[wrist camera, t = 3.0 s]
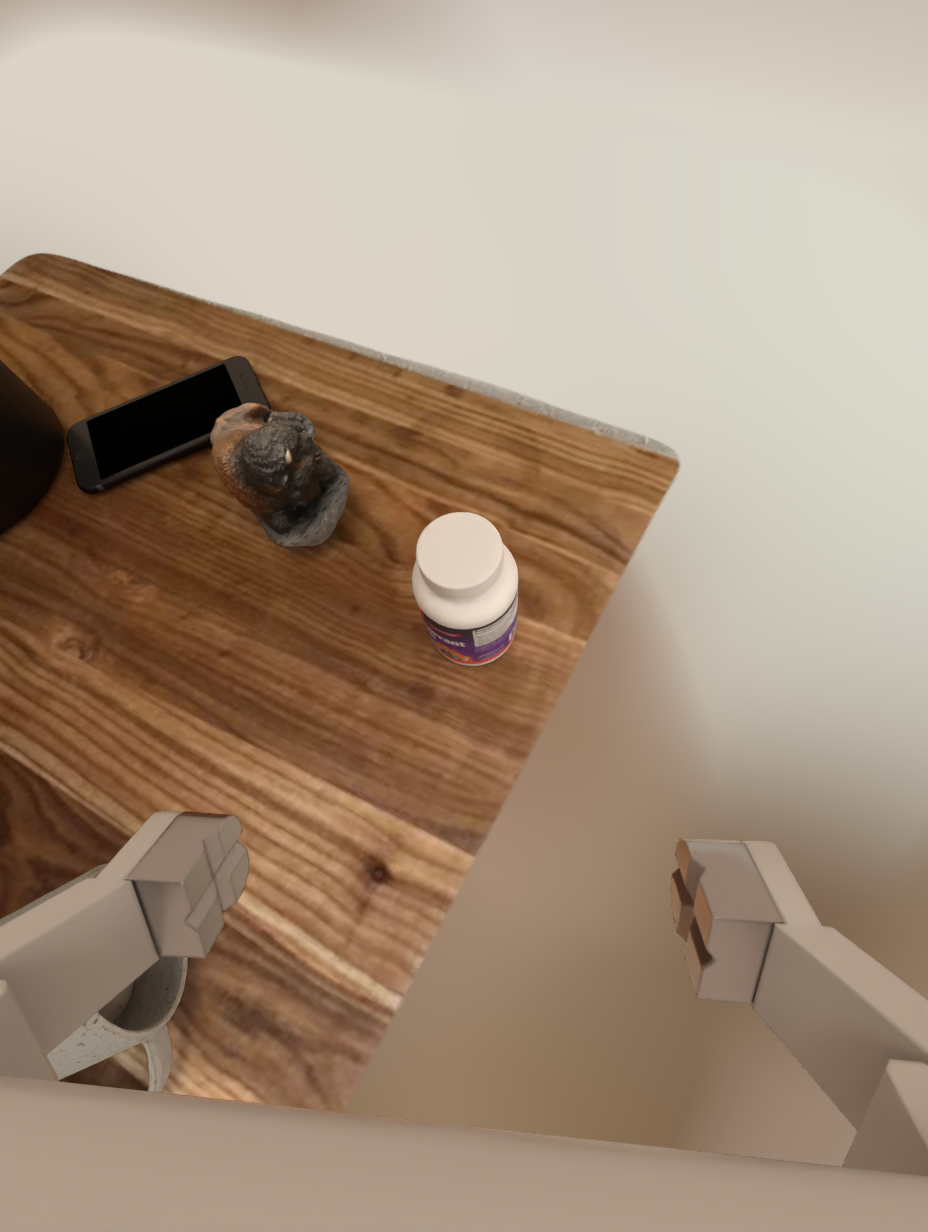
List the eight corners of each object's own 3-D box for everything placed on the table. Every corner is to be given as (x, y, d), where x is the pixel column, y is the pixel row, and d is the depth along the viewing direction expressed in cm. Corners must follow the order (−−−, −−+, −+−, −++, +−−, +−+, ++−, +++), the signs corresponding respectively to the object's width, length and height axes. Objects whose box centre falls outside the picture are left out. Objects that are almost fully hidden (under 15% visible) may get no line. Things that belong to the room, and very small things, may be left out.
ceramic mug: (22, 930, 29) (-138, 964, 22) (168, 854, 29) (60, 862, 22) (58, 1167, 25) (-123, 1303, 18) (224, 1071, 26) (116, 1164, 19)
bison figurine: (220, 469, 40) (131, 356, 30) (301, 420, 41) (239, 297, 32) (298, 583, 35) (223, 492, 26) (387, 524, 37) (344, 418, 27)
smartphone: (68, 432, 42) (59, 424, 41) (247, 358, 44) (242, 348, 43) (86, 502, 39) (77, 495, 39) (276, 419, 41) (272, 411, 40)
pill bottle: (412, 622, 34) (376, 543, 25) (479, 571, 35) (468, 478, 26) (466, 686, 32) (448, 626, 23) (535, 631, 33) (544, 553, 24)
